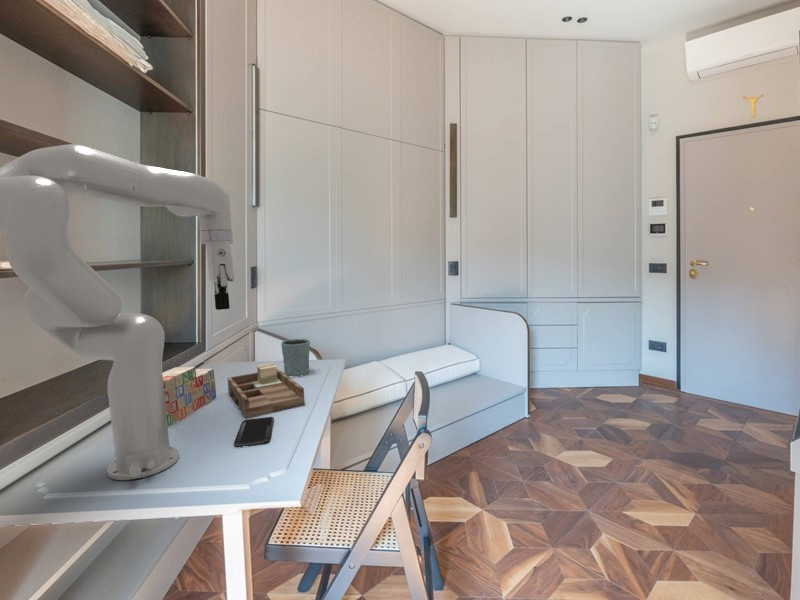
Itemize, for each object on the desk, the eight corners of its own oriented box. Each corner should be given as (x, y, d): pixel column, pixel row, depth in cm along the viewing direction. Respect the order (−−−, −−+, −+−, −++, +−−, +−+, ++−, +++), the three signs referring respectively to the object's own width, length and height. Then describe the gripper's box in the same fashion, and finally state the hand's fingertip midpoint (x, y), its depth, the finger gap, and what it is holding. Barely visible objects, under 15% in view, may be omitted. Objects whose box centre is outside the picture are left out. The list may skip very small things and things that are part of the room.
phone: (232, 445, 92) (242, 419, 107) (233, 449, 92) (243, 424, 107) (269, 440, 94) (274, 416, 109) (270, 445, 94) (274, 420, 109)
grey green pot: (288, 370, 157) (286, 339, 156) (314, 369, 156) (312, 338, 155) (279, 378, 147) (277, 344, 146) (307, 377, 146) (305, 343, 145)
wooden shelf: (304, 405, 118) (303, 388, 118) (246, 418, 110) (244, 400, 109) (279, 383, 140) (278, 369, 140) (228, 393, 132) (227, 377, 131)
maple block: (277, 381, 134) (276, 366, 133) (261, 384, 131) (260, 369, 131) (273, 378, 138) (272, 363, 137) (257, 380, 135) (256, 365, 135)
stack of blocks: (197, 397, 129) (194, 359, 127) (216, 397, 128) (213, 358, 127) (149, 425, 108) (144, 379, 106) (171, 426, 107) (167, 379, 106)
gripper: (237, 236, 102) (243, 310, 104) (227, 239, 115) (232, 305, 117) (204, 236, 99) (211, 313, 100) (197, 240, 111) (203, 308, 113)
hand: (222, 308), depth 109 cm, fingers closed
